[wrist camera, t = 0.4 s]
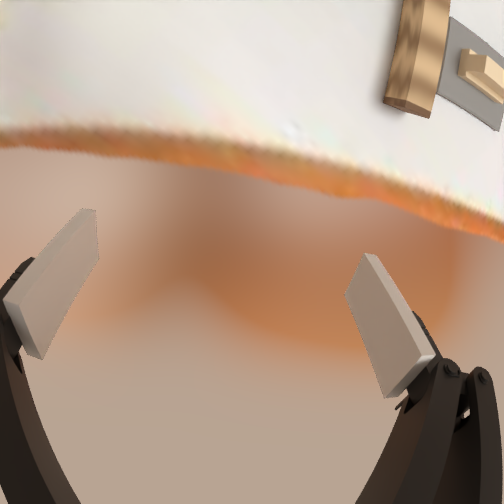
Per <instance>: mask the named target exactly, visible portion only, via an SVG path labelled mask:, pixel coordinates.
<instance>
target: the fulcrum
mask: <svg viewBox="0 0 504 504" xmlns="http://www.w3.org/2000/svg"><path fill="white" fill-rule="evenodd" d="M436 93H437V94H439V95H441V96H442V97H444V98H446V99H448V100H449V101H451V102H453V103H455V104H456V105H458V106H459V107H461V108H463V109H464V110H466V111H467V112H469V113H471V114H472V115H474V116H475V117H477V118H478V119H480V120H481V121H483V122H484V123H486V124H487V125H488V126H490V127H491V128H493V129H494V130H495V131H498V132H499V130H500V126H501V122H502V117H503V113H504V58H503V57H502V56H501V55H500V54H499V53H498V52H497V51H495V50H494V49H493V48H492V47H491V46H490V45H488V44H487V43H486V42H485V41H484V40H482V39H481V38H480V37H478V36H477V35H476V34H475V33H473V32H472V31H471V30H469V29H468V28H467V27H465V26H464V25H463V24H461V23H460V22H458V21H457V20H455V19H454V18H452V17H449V20H448V28H447V36H446V42H445V49H444V54H443V60H442V65H441V71H440V75H439V80H438V85H437V89H436Z"/></svg>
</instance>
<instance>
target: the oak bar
mask: <svg viewBox="0 0 504 504" xmlns="http://www.w3.org/2000/svg"><path fill="white" fill-rule="evenodd" d="M449 11H450V0H404V1H403V7H402V14H401V20H400V26H399V31H398V37H397V42H396V47H395V52H394V57H393V62H392V66H391V71H390V75H389V80H388V84H387V88H386V92H385V96H384V100H383V103H385V104H388V105H390V106H393V107H395V108H397V109H400V110H402V111H404V112H407V113H411V114H414V115H418V116H421V117H425V118H428V119H429V118H430V114H431V110H432V106H433V102H434V98H435V94H436V89H437V85H438V80H439V75H440V71H441V65H442V60H443V54H444V49H445V42H446V36H447V28H448V20H449Z"/></svg>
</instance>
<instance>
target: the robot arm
mask: <svg viewBox="0 0 504 504" xmlns="http://www.w3.org/2000/svg"><path fill="white" fill-rule="evenodd" d="M98 260H99V254H98V243H97V228H96V211H95V210H90V209H81V210H80V211H79V212H78V213H77V214H76V215H75V216H74V217H73V218H72V219H71V220H70V221H69V222H68V223H67V224H66V225H65V226H64V227H63V228H62V229H61V230H60V231H59V233H58V234H57V235H56V236H55V237H54V238H53V239H52V240H51V241H50V242H49V243H48V244H47V246H46V247H45V248H44V249H43V250H42V251H41V252H40V253H39V255H38V256H37V257H36V258H32V257H30V258H29V259H27V260H26V261H24V262H23V263H21V265H20V266H19V267H18V268H17V269H16V270H15V273H13V274H12V275H11V276H10V279H8V280H7V281H6V283H5V284H4V285H3V286H2V288H1V289H0V485H1V487H2V490H3V493H4V495H5V497H6V500H7V502H8V504H81V503H80V501H79V500H78V498H77V496H76V494H75V493H74V491H73V489H72V487H71V486H70V484H69V482H68V480H67V478H66V476H65V475H64V473H63V471H62V469H61V467H60V465H59V463H58V461H57V459H56V456H55V454H54V452H53V450H52V448H51V445H50V443H49V441H48V438H47V436H46V433H45V431H44V429H43V426H42V423H41V421H40V418H39V415H38V413H37V410H36V407H35V404H34V401H33V398H32V395H31V391H30V388H29V385H28V381H27V378H26V374H25V371H24V367H23V363H22V359H21V356H20V354H19V352H18V351H19V349H20V348H21V346H22V345H23V347H24V349H25V351H26V353H27V354H28V355H30V356H33V357H36V358H38V359H41V360H43V358H44V356H45V354H46V352H47V350H48V348H49V346H50V344H51V342H52V340H53V338H54V336H55V334H56V332H57V330H58V328H59V326H60V324H61V323H62V321H63V319H64V317H65V315H66V313H67V312H68V310H69V308H70V306H71V304H72V303H73V301H74V299H75V297H76V296H77V294H78V292H79V291H80V289H81V287H82V285H83V284H84V282H85V281H86V279H87V277H88V276H89V274H90V272H91V271H92V269H93V268H94V266H95V265H96V263H97V261H98ZM344 295H345V298H346V300H347V302H348V305H349V307H350V310H351V312H352V315H353V317H354V319H355V322H356V324H357V327H358V329H359V332H360V334H361V337H362V340H363V342H364V344H365V347H366V350H367V352H368V355H369V358H370V360H371V363H372V366H373V369H374V371H375V374H376V377H377V380H378V382H379V385H380V388H381V391H382V394H383V397H384V398H390V397H398V396H399V395H400V394H401V393H402V392H403V391H404V390H405V389H407V391H408V395H407V397H405V398H404V399H403V400H402V401H401V402H400V403H399V404H398V405H397V406H396V408H395V410H397V409H398V408H399V407H401V406H402V407H401V409H400V412H399V415H398V417H397V420H396V422H395V425H394V427H393V430H392V432H391V434H390V437H389V439H388V441H387V443H386V446H385V448H384V450H383V452H382V454H381V456H380V458H379V460H378V462H377V464H376V466H375V468H374V470H373V472H372V474H371V476H370V478H369V480H368V482H367V483H366V485H365V487H364V489H363V491H362V493H361V495H360V496H359V498H358V499H357V501H356V503H355V504H502V447H501V435H500V425H499V418H498V410H497V403H496V397H495V392H494V386H493V381H492V378H491V376H490V374H489V372H488V371H487V370H486V369H484V368H482V367H476V368H474V370H473V371H472V372H471V373H470V374H468V373H463V372H461V370H460V368H459V367H458V365H457V364H456V363H455V362H453V361H452V360H450V359H448V358H443V357H442V356H441V354H440V352H439V350H438V348H437V346H436V345H435V343H434V341H433V339H432V337H431V336H429V332H428V330H427V329H425V328H426V327H425V325H424V323H423V322H422V320H421V318H420V317H419V316H417V314H416V313H414V311H411V309H410V308H409V306H408V304H407V303H406V301H405V299H404V298H403V296H402V294H401V293H400V291H399V290H398V288H397V286H396V285H395V283H394V282H393V280H392V279H391V277H390V275H389V274H388V272H387V271H386V269H385V268H384V266H383V265H382V263H381V262H380V260H379V259H378V257H377V256H376V255H373V254H367V253H364V254H363V256H362V258H361V260H360V263H359V265H358V267H357V269H356V271H355V274H354V276H353V278H352V280H351V282H350V284H349V287H348V288H347V290H346V292H345V294H344ZM468 409H470V415H469V416H467V417H466V418H464V413H465V412H466V411H467V410H468Z"/></svg>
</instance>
